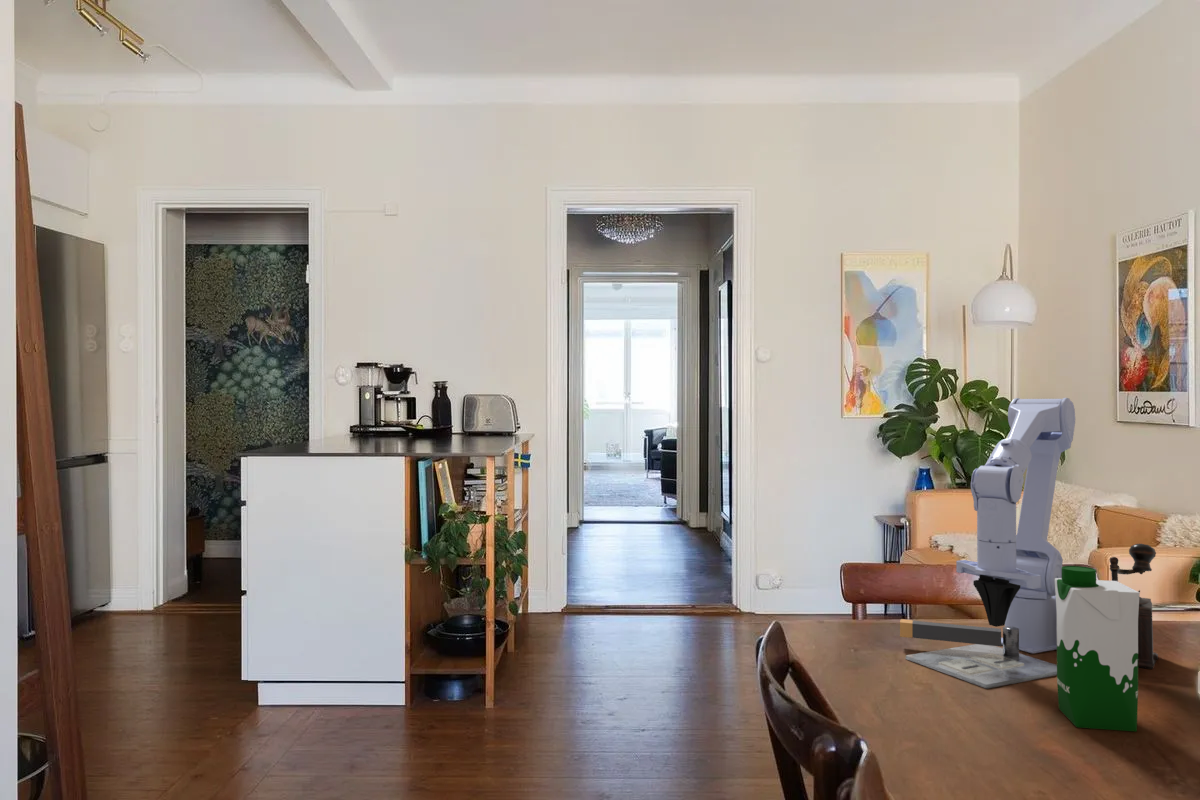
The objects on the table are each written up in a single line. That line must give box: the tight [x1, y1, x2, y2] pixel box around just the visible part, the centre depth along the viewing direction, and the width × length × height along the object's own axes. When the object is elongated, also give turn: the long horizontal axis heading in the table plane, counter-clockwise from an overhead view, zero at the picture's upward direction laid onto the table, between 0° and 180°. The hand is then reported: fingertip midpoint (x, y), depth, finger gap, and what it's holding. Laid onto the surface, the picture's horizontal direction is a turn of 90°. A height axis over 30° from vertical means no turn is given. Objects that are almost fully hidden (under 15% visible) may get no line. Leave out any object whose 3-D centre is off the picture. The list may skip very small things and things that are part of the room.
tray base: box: [905, 625, 1057, 689], centre depth 135 cm, size 18×16×5 cm
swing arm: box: [899, 618, 1002, 648], centre depth 143 cm, size 16×2×2 cm, turn 67°
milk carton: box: [1055, 565, 1141, 733], centre depth 112 cm, size 9×9×20 cm
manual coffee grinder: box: [1109, 543, 1159, 670], centre depth 142 cm, size 16×11×18 cm
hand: (996, 625), depth 136 cm, fingers closed
